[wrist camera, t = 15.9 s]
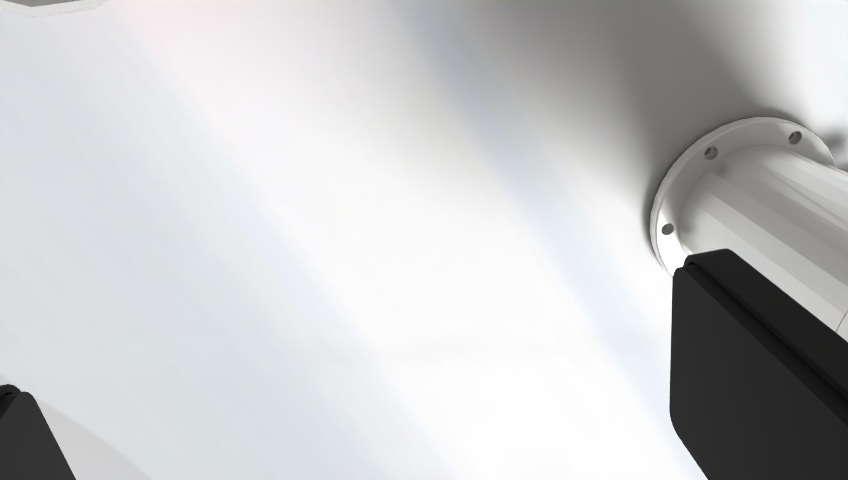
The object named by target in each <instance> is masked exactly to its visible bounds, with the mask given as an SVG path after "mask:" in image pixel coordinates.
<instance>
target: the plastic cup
mask: <svg viewBox="0 0 848 480" xmlns="http://www.w3.org/2000/svg"><path fill="white" fill-rule="evenodd" d="M106 1H108V0H0V10H4V11H8V12H13V13H17V14H21V15H25V16H29V17H40V16H48V15H55V14H62V13H69V12H76V11H84V10H91V9H95V8H97V7H98V6H100V5H101V4H103V3H104V2H106Z"/></svg>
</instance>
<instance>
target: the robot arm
mask: <svg viewBox="0 0 848 480" xmlns="http://www.w3.org/2000/svg"><path fill="white" fill-rule="evenodd" d="M650 235H651V242H652V247H653V249H654V252H655V254H656V257H657V259H658V261H659V262H660V263H661V265H662V266H663V268H664V269H665V270H666V272H668V273H669V274H670V275H671V276H672V277H673V288H672V329H671V369H670V417H671V421H672V424H673V427H674V429H675V431H676V433H677V435H678V436H679V438H680V439H681V441H682V442H683V444H684V445H685V447H686V448H687V450H688V451H689V452H690V454H691V455H692V457H693V458H694V460H695V461H696V463H697V464H698V466H699V467H700V468H701V470H702V471H703V473H704V474H705V476H706V477H707V479H708V480H848V173H847V172H845V171H843V170H841V169H839V168H836V164H835V161H834V159H833V157H832V155H831V153H830V151H829V149H828V147H827V146H826V145H825V144H824V142H823V141H822V140H821V139H820V138H819V137H818V136H817V135H816V134H814V133H813V132H811V131H810V130H808V129H807V128H805V127H803V126H800V125H798V124H796V123H793V122H791V121H788V120H783V119H779V118H775V117H753V118H747V119H742V120H737V121H734V122H732V123H729V124H726V125H723V126H721V127H719V128H717V129H715V130H713V131H712V132H710V133H708V134H706V135H705V136H703V137H701V138H700V139H699V140H698V141H696V142H695V143H694V144H693V145H691V146H690V147H689V148H688V149H687V150H686V151H685V152H684V153H683V154H682V155H681V156H680V157H679V158H678V159H677V160H676V162H675V163H674V164H673V165H672V167H671V168H670V170H669V171H668V173H667V174H666V176H665V177H664V179H663V180H662V182H661V185H660V187H659V189H658V191H657V194H656V196H655V199H654V203H653V207H652V211H651V218H650ZM0 480H76V479H75V477H74V475H73V473H72V471H71V469H70V467H69V465H68V463H67V461H66V459H65V457H64V455H63V453H62V451H61V449H60V447H59V445H58V443H57V442H56V440H55V438H54V436H53V434H52V432H51V430H50V428H49V426H48V424H47V422H46V420H45V418H44V416H43V414H42V412H41V410H40V408H39V406H38V404H37V402H36V400H35V399H34V397H33V396H32V395H31V394H30V393H28V392H21V391H20V390H19V389H18V388H17V387H15V386H14V385H10V384H7V385H1V386H0Z"/></svg>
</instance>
